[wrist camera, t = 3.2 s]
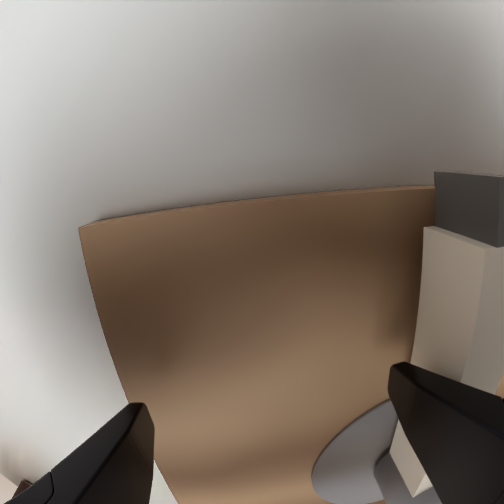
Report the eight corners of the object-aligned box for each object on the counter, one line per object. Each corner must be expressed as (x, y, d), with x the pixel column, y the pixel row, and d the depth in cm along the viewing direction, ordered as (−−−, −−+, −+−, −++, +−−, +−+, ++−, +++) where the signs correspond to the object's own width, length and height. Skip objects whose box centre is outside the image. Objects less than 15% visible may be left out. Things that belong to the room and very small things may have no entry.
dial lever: (422, 468, 11) (449, 515, 8) (368, 486, 11) (389, 539, 8) (480, 172, 8) (560, 181, 4) (407, 171, 7) (491, 177, 4)
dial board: (496, 459, 15) (505, 470, 13) (210, 539, 14) (210, 556, 13) (571, 179, 10) (590, 182, 8) (93, 213, 9) (73, 219, 8)
